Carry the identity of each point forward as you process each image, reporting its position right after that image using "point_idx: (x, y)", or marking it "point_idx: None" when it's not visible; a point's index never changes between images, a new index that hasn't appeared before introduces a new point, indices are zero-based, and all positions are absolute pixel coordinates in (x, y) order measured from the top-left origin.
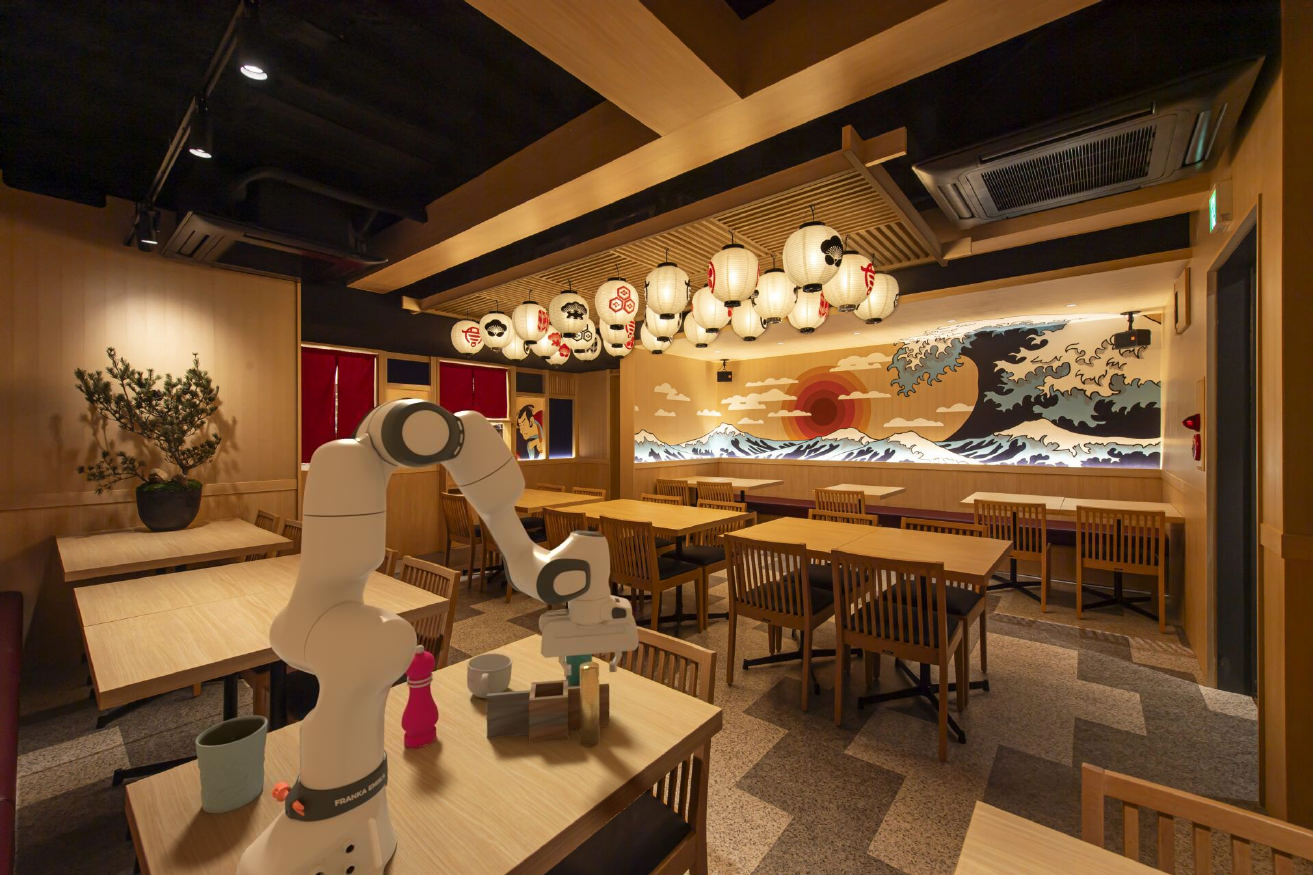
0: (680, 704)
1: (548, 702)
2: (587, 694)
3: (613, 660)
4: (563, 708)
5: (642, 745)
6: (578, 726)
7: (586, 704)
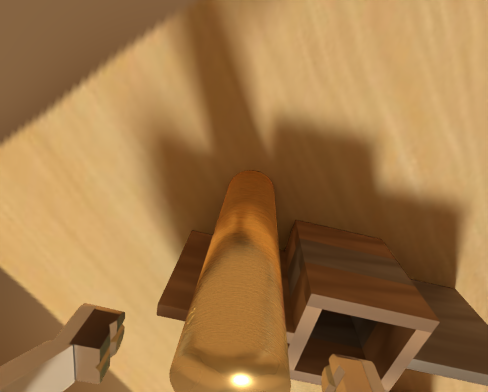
0: (17, 245)
1: (371, 297)
2: (260, 249)
3: (69, 378)
4: (319, 270)
5: (131, 128)
6: None
7: (264, 229)
